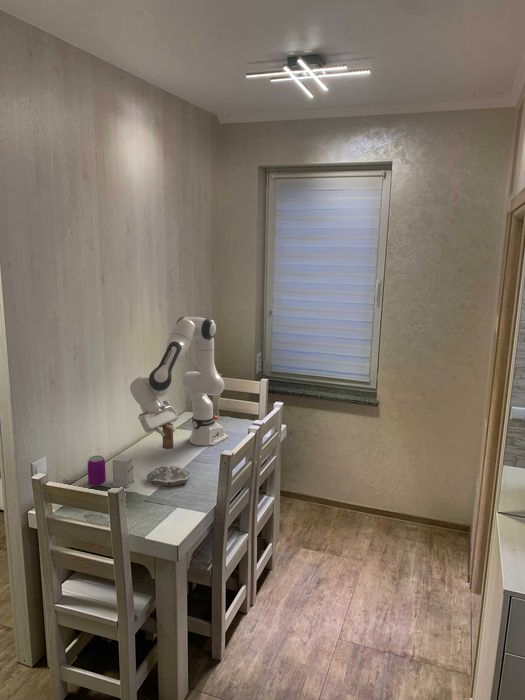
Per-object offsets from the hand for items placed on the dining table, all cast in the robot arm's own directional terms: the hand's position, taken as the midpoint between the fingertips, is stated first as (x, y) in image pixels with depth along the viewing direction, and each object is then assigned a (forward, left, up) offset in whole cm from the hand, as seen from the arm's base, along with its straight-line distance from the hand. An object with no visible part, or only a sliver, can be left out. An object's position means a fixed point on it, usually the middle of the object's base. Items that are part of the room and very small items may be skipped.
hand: (169, 433), depth 234 cm
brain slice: (0, -1, -23) cm, 23 cm away
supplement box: (+17, -12, -23) cm, 31 cm away
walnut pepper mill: (0, -1, -7) cm, 7 cm away
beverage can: (+25, -21, -23) cm, 40 cm away
